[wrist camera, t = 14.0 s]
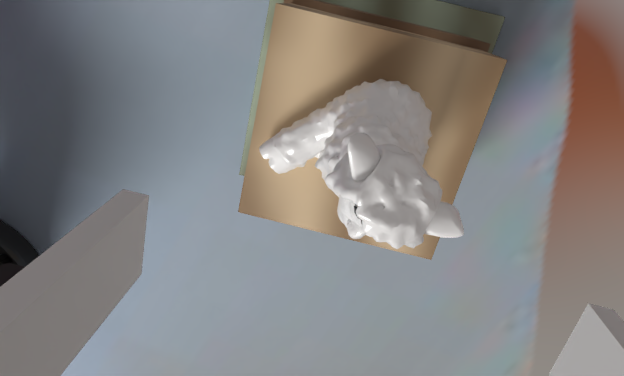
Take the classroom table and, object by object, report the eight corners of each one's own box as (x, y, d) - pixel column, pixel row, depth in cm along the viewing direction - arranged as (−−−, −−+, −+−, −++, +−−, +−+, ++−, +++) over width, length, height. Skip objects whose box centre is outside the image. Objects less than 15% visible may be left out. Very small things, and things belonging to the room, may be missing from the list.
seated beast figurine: (257, 150, 28) (192, 243, 17) (339, 29, 25) (324, 49, 14) (379, 233, 30) (391, 370, 19) (472, 128, 27) (551, 217, 16)
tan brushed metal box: (241, 170, 43) (196, 235, 31) (278, -38, 36) (238, -59, 24) (428, 217, 43) (455, 299, 31) (501, 16, 36) (571, 23, 24)
